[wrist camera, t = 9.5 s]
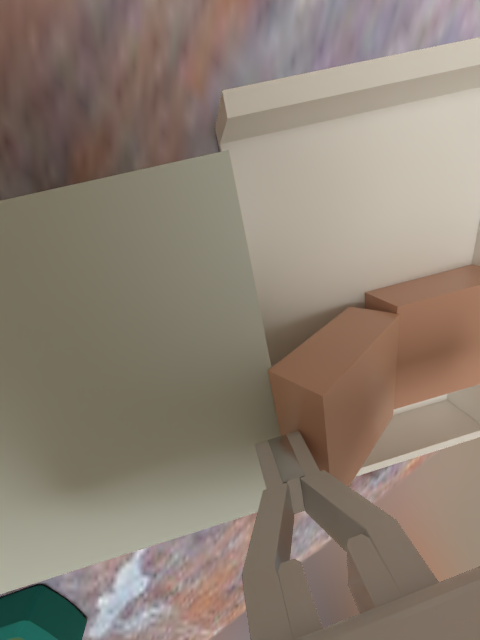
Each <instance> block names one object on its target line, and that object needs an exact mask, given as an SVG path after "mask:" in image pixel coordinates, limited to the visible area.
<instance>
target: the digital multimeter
mask: <svg viewBox="0 0 480 640" xmlns="http://www.w3.org/2000/svg"><path fill="white" fill-rule="evenodd" d="M86 623H87V621H86V619H85V617H84V616H83V615H82V614H81V613H80V612H79V610H78V609H77V608H76V607H75V606H73V605H72V604H71V603H70V602H69V601H67V600H66V599H65V598H63V597H62V596H60V595H59V594H57V593H56V592H54V591H53V590H51V589H49V588H48V587H46V586H44V585H36V586H33V587H30V588H27V589H24V590H21V591H18V592H15V593H12V594H10V595H7V596H4V597H1V598H0V640H82V637H83V633H84V630H85V626H86Z"/></svg>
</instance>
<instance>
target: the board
mask: <svg viewBox="0 0 480 640" xmlns="http://www.w3.org/2000/svg"><path fill="white" fill-rule="evenodd" d="M270 368H272V367H271V362H270V357H269V352H268V347H267V342H266V337H265V332H264V327H263V322H262V316H261V311H260V306H259V301H258V296H257V291H256V286H255V281H254V276H253V271H252V265H251V260H250V255H249V250H248V245H247V240H246V235H245V230H244V225H243V220H242V214H241V209H240V204H239V199H238V194H237V189H236V184H235V179H234V174H233V169H232V163H231V158H230V153H229V150H226V151H221V152H217V153H212V154H208V155H203V156H199V157H194V158H190V159H185V160H181V161H176V162H172V163H167V164H163V165H158V166H154V167H149V168H145V169H140V170H136V171H131V172H127V173H122V174H118V175H113V176H109V177H104V178H100V179H95V180H91V181H86V182H82V183H77V184H73V185H68V186H64V187H59V188H55V189H50V190H46V191H41V192H37V193H32V194H28V195H23V196H19V197H14V198H10V199H5V200H1V201H0V594H3V593H6V592H9V591H12V590H15V589H18V588H21V587H25V586H28V585H31V584H34V583H37V582H40V581H43V580H47V579H50V578H53V577H56V576H59V575H62V574H65V573H68V572H72V571H75V570H78V569H81V568H84V567H87V566H90V565H93V564H97V563H100V562H103V561H106V560H109V559H112V558H115V557H119V556H122V555H125V554H128V553H131V552H134V551H137V550H140V549H144V548H147V547H150V546H153V545H156V544H159V543H162V542H165V541H169V540H172V539H175V538H178V537H181V536H184V535H187V534H190V533H194V532H197V531H200V530H203V529H206V528H209V527H212V526H216V525H219V524H222V523H225V522H228V521H231V520H234V519H237V518H241V517H244V516H247V515H250V514H253V513H256V512H258V509H259V505H260V501H261V497H262V493H263V490H265V489H266V486H265V482H264V479H263V475H262V471H261V467H260V463H259V459H258V455H257V451H256V447H255V444H257V443H260V442H263V441H266V440H270V439H273V438H276V437H279V436H281V434H280V429H279V424H278V419H277V414H276V409H275V404H274V399H273V394H272V389H271V384H270V379H269V374H268V370H269V369H270Z"/></svg>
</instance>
